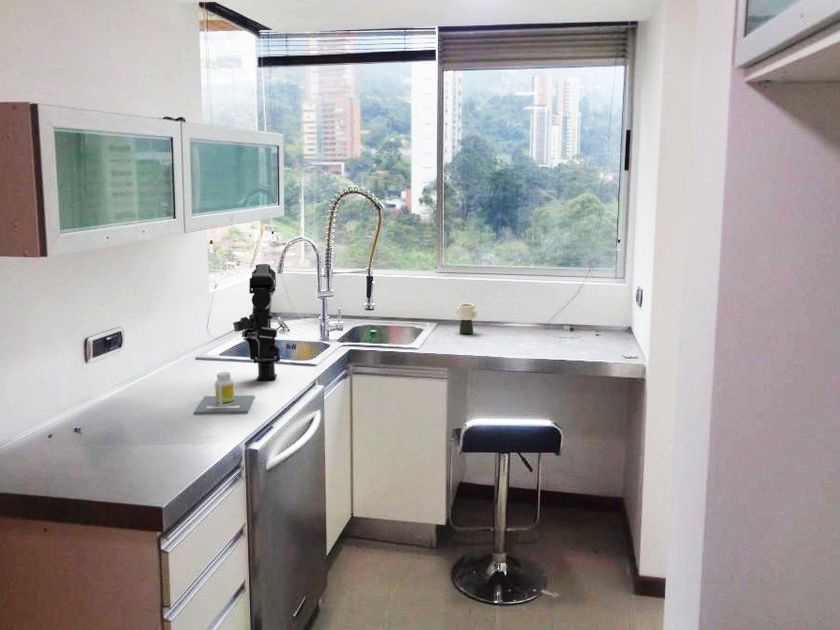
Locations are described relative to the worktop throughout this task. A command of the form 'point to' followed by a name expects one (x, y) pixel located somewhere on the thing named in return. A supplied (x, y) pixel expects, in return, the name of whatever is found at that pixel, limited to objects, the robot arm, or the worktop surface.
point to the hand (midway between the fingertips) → (256, 359)
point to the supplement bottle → (224, 389)
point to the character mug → (466, 317)
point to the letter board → (239, 406)
